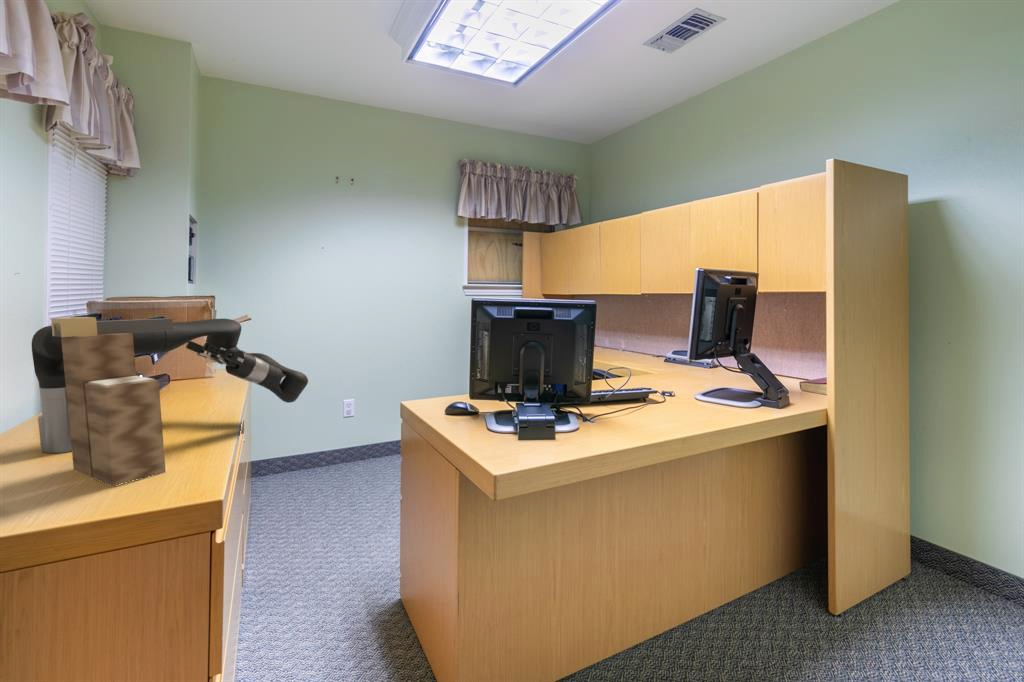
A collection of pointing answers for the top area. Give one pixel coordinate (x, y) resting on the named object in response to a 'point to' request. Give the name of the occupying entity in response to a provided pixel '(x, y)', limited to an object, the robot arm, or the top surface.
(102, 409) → the brown stepped block
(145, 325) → the bar
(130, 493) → the top surface
